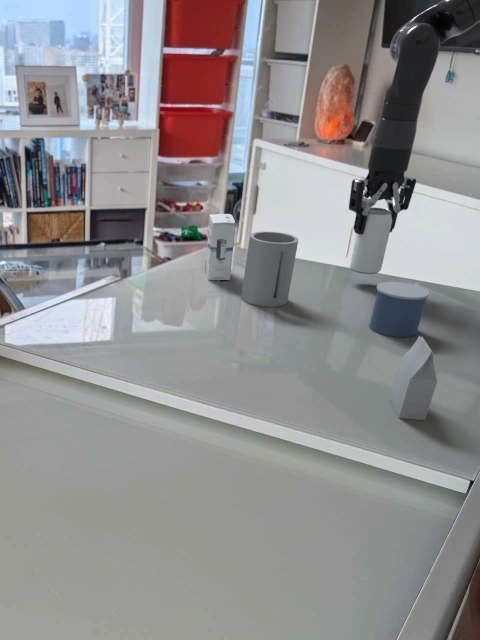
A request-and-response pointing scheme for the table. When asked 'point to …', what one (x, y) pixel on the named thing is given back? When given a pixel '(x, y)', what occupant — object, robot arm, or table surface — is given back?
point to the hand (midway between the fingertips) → (373, 232)
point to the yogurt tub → (398, 309)
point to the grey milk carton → (414, 382)
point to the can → (372, 242)
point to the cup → (269, 268)
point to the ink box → (220, 246)
